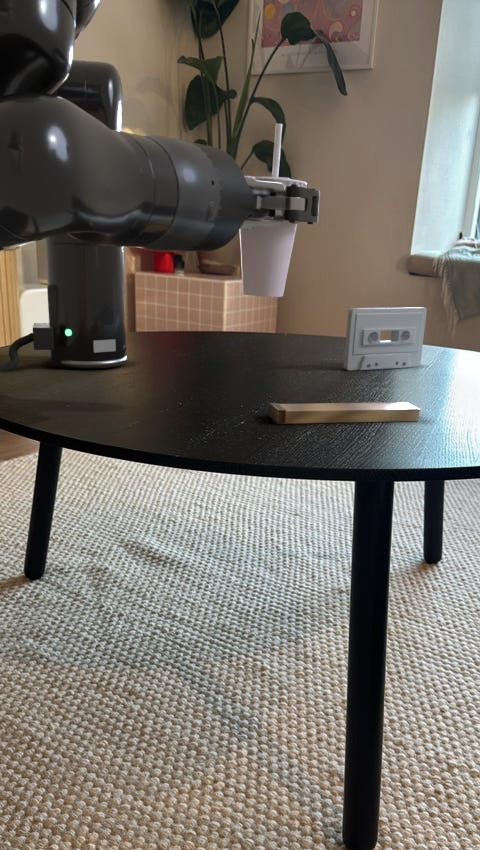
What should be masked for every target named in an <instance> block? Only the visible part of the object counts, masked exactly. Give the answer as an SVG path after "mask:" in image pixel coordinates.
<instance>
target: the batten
mask: <svg viewBox="0 0 480 850" xmlns="http://www.w3.org/2000/svg"><path fill="white" fill-rule="evenodd" d="M420 411H421V409H420V408H419V407H417V406H415V405H414V404H411V403H409V402H407V401H396V402H395V401H392V402H391V401H389V402H388V401H387V402H332V403H331V402H324V403H323V402H322V403H318V402H317V403H316V402H315V403H278V402H270V403H269V418H271V419H272V420H273V421H274V422H275V423H276V424H277V425H293V424H294V425H295V424H299V425H300V424H339V423H340V424H341V423H342V424H343V423H391V422H393V423H394V422H397V423H398V422H419V420H420V419H419V418H420Z"/></svg>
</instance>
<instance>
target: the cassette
mask: <svg viewBox="0 0 480 850" xmlns="http://www.w3.org/2000/svg"><path fill="white" fill-rule="evenodd" d="M427 313H428V309H427V308H426V307H422V306H414V307H413V306H411V307H409V306H408V307H407V306H406V307H351V308H349V309H348V311H347V319H346V320H347V321H346V322H347V323H346V334H345V343H344V345H345V346H344V357H343V358H344V359H343V369H344V370H346V371H349V372H350V371H372V370H388V369H405V368H416V367H420V366H421V363H422V356H423V355H422V354H423V346H424V339H425V331H426V330H425V329H426V320H427ZM384 331H385V332H387V331H389V332H390V331H391V333H390V339H384V340H382V339H381V334H382V332H384Z"/></svg>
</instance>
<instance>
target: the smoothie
mask: <svg viewBox="0 0 480 850" xmlns="http://www.w3.org/2000/svg"><path fill="white" fill-rule="evenodd" d="M282 132H283V123H275V129H274V141H273V142H274V143H273V156H272V157H273V158H272V171H271V176H266V175H265V176H262V175H261V176H253V177H254V178H255V179H256V180H260V181H271V182H281V183H282V184H283V186H284V188H286V186H291V184H297V185H298V186H299V187H305V188H307V184H308V183H307V182H306V181H304V180H299V179H294V178H293V179H292V178H290V177H284V176H279V174H280V173H279V172H280V160H281V146H282V145H281V144H282ZM284 197H285V196H284ZM282 213H283V215H284V210H282ZM265 218H266V217H264V218H248V219H256V220H264V219H265ZM297 226H298V223H297V224H291V223H289V222H286V221H283V222H282V224H281V226H280V227H260V226H254V227H253V228H252V229H240V230H239V244H240V245H239V246H240V247H239V249H240V266H241V282H242V283H241V284H242V294H243V295H246V296H253V297H254V296H255V297H264V298H266V297H267V298H282V297H284V293H285V287H286V283H287V277H288V272H289V268H290V262H291V258H292V252H293V248H294V247H293V246H294V242H295V237H296V232H297Z"/></svg>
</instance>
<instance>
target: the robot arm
mask: <svg viewBox="0 0 480 850" xmlns="http://www.w3.org/2000/svg"><path fill="white" fill-rule="evenodd" d="M100 3H101V0H0V252H5V251H7V250H11V249H13V248H16V247H17V248H18V247H21V246H25V245H28V244H31V243H35V242H40V241H42V240H44V241H45V259H46V262H45V263H46V277H47V278H46V279H47V285H46V291H47V305H48V306H47V310H48V322H34V323H33V325H32V332H30V333H29V334H26V335H23V336H21V337H19V338H17V339H16V340H14V341H13V342H12V344H11V345H10V346H9V348H8V356H9V359H10V361H9V362H7V363H6V364H3V365H0V372H2V373H4V372H12V371H13V370H15V369H16V368H17V367H18V365H19V364H20V357H19V353H18V351H19V349H20V348H22V347H24V346H27V345H28V344H31V343H33V350H34V351H50V362H51V367H62V368H70V369H109V368H115V367H116V368H117V367H121V366H124V365H127V363H128V355H127V340H126V339H127V338H126V336H127V335H126V334H127V333H126V292H125V290H126V289H125V288H126V287H125V248H139V249H142V250H148V251H153V252H213V251H217V250H219V249H221V248H223V247H225V246H226V245H228V244H229V243H230V242H231V241H233V239H234V238H235V237H236V236H237V234H238V233H239V232H240V229H252V228H253V227H254V226H260V227H280V226H281V224H282V222H283V221H286V222H289V223H291V224H297V225H298V223H306V224H307V225H314V223H318V222H319V211H320V210H319V209H320V198H321V197H320V195H321V191H320V190H318V189H317V188H308V187H306V188H305V187H299V186H298V185H297V184H291V186H286V188H284V186H283V184H282V183H281V182H271V181H260V180H256V179H255V178H254V177H255V176H253V175H245V174H244V173H243V171H242V169H241V167H240V166H239V164H238V163H237V161H236V160H235V158H233V156H231V155H230V154H229V153H228V152H226V151H225V150H223V149H220V148H219V147H215V146H211V145H207V144H202V143H197V142H192V141H189V140H184V139H179V138H176V137H175V138H174V137H169V136H166V135H165V136H164V135H141V134H136V133H131V132H126V131H123V128H124V127H123V126H124V125H123V124H124V123H123V122H124V95H123V94H124V93H123V85H122V81H121V77H120V74H119V71H118V69H117V68H116V66H115V65H113V64H112V63H109V62H107V61H106V62H105V61H94V60H81V59H80V60H79V59H74V55H75V44H76V40H77V39H78V37H79V36H81V34H82V33H83V32H84V30H85V29H86V28H87V27H88V25H89V24H90V23H91V21H92V19H94V18H93V17H94V16H95V14H96V12H97V11H98V9H99V6H100ZM284 196H285V197H284ZM282 210H284V215H283V213H282ZM264 217H266V218H265V219H264V220H256V219H248V218H264Z"/></svg>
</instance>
